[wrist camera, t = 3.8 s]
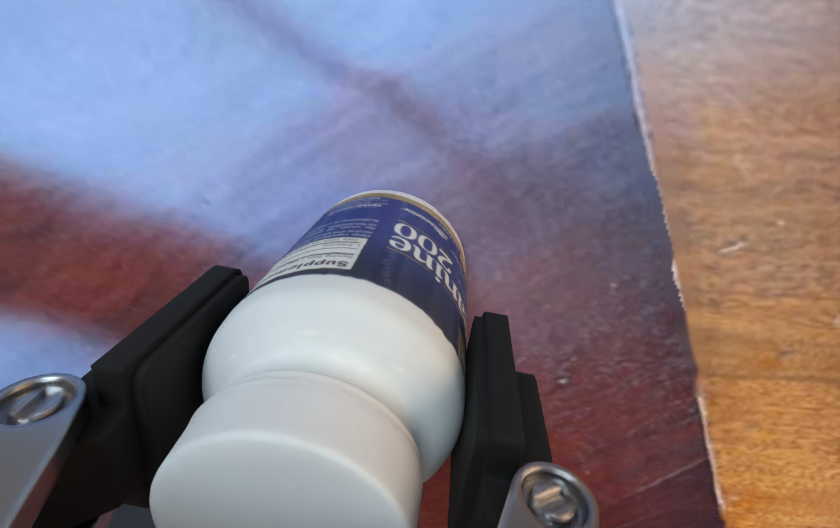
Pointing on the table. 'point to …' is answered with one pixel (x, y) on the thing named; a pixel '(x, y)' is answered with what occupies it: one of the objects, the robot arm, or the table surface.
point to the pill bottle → (330, 380)
